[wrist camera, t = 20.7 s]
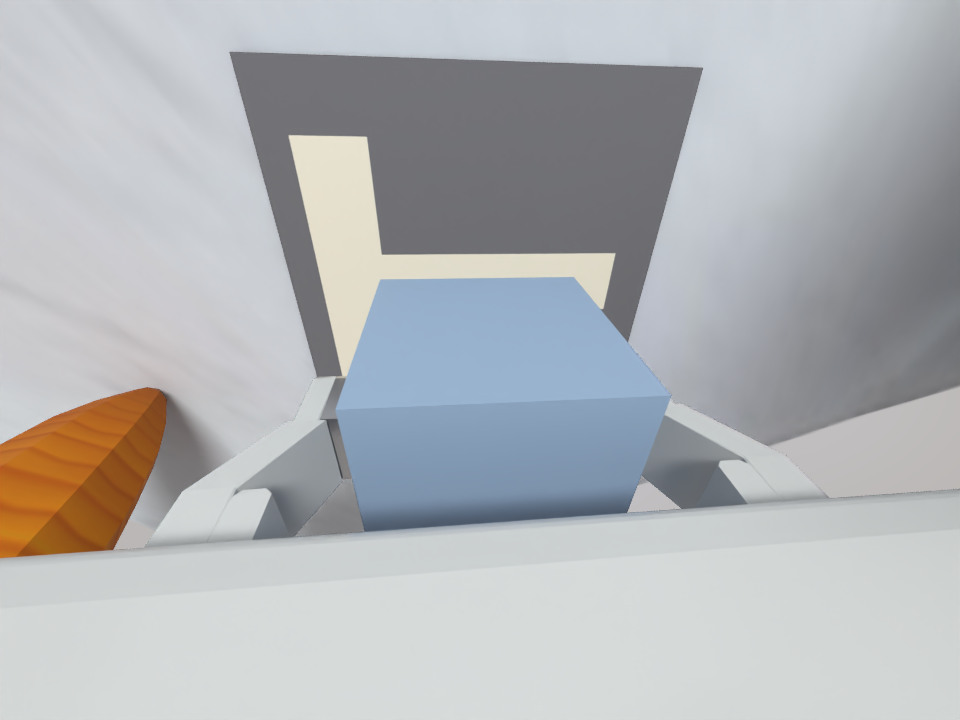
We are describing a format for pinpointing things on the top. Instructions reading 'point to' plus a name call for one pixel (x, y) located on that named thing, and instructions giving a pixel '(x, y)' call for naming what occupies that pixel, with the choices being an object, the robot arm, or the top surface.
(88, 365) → the top surface
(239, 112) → the top surface
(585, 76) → the letter mat
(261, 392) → the top surface
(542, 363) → the slate cube
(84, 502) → the carrot
